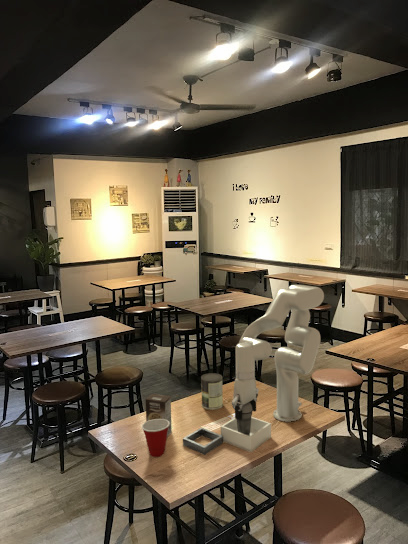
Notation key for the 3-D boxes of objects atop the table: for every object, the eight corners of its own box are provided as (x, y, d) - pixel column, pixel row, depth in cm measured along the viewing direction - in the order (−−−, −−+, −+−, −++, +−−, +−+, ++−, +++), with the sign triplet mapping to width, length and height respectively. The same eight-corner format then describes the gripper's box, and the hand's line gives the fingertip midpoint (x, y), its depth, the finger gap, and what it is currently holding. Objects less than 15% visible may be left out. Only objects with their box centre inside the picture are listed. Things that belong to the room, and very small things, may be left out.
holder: (201, 434, 183) (201, 427, 182) (223, 442, 175) (223, 435, 175) (183, 445, 174) (182, 438, 174) (204, 455, 167) (204, 447, 166)
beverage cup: (252, 442, 173) (251, 394, 171) (233, 440, 175) (233, 392, 172) (253, 433, 180) (253, 386, 178) (236, 431, 182) (235, 385, 179)
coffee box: (146, 435, 182) (144, 399, 180) (153, 428, 188) (151, 392, 186) (166, 439, 179) (164, 401, 177) (172, 431, 185) (171, 395, 183)
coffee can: (198, 408, 207) (197, 379, 205) (205, 399, 217) (205, 372, 215) (219, 411, 204) (218, 382, 202) (225, 402, 213) (225, 374, 211)
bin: (241, 426, 188) (241, 413, 187) (271, 437, 179) (271, 423, 178) (220, 440, 177) (220, 426, 176) (250, 452, 168) (250, 437, 167)
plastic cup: (159, 442, 177) (158, 414, 175) (176, 452, 169) (175, 423, 167) (136, 453, 169) (135, 423, 168) (153, 464, 162) (152, 433, 160)
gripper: (249, 366, 183) (250, 405, 186) (224, 378, 170) (225, 420, 173) (265, 370, 178) (265, 409, 181) (240, 383, 165) (240, 425, 168)
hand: (245, 414), depth 177 cm, fingers open, 9 cm apart
